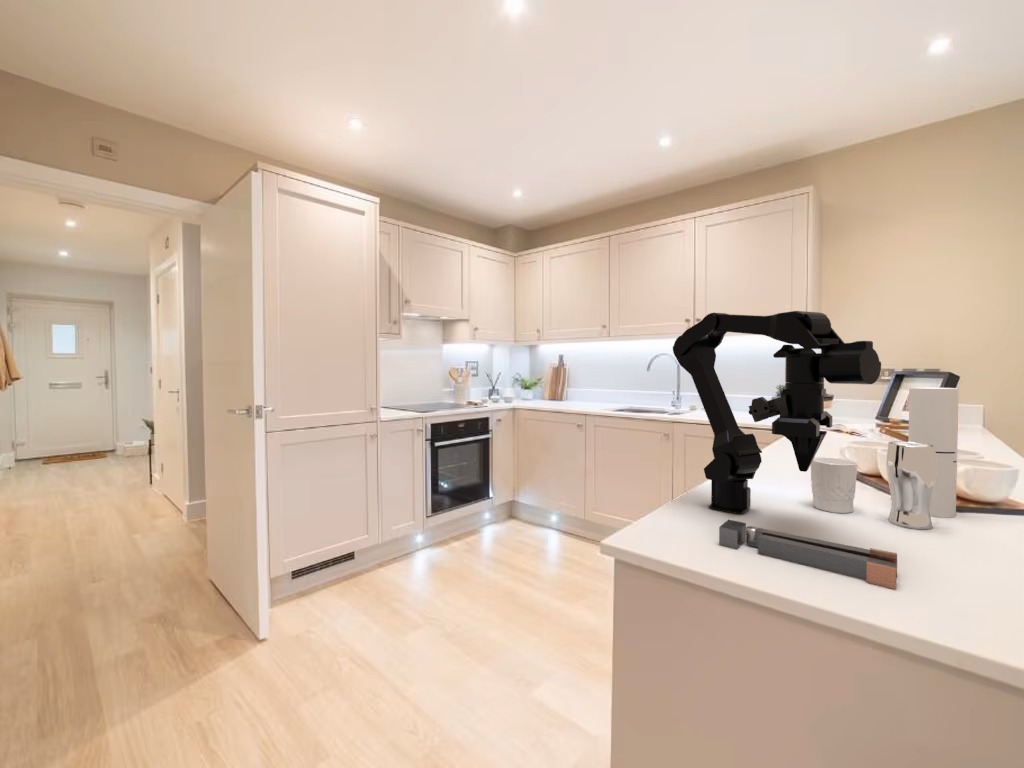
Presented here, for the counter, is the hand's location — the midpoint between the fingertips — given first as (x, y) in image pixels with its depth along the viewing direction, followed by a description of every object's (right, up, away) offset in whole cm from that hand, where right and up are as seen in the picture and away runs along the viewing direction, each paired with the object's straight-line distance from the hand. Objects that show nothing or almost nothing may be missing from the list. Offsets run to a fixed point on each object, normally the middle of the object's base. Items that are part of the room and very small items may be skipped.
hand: (803, 471), depth 78 cm
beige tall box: (+33, -11, +11) cm, 36 cm away
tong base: (-8, -11, -11) cm, 17 cm away
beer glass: (+23, -11, +4) cm, 25 cm away
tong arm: (-5, -11, -10) cm, 16 cm away
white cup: (+15, -11, +14) cm, 23 cm away
